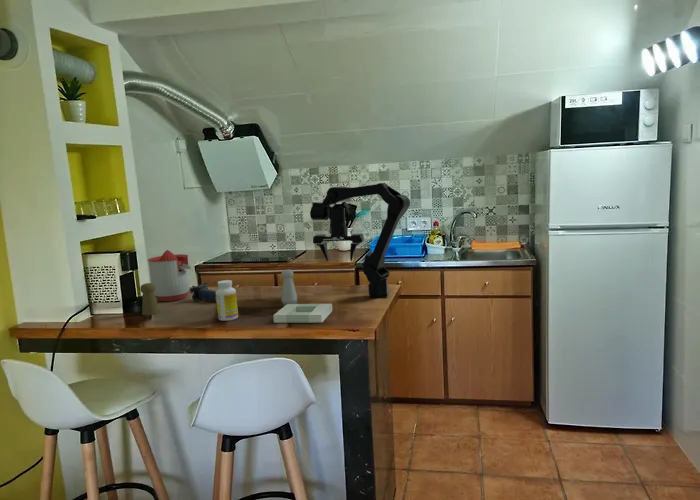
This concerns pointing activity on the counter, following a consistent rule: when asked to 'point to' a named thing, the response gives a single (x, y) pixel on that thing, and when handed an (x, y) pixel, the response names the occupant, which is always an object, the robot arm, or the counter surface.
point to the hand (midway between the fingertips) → (339, 261)
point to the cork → (149, 299)
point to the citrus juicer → (170, 276)
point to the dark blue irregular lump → (203, 293)
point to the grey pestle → (288, 288)
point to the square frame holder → (302, 313)
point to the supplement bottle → (226, 301)
